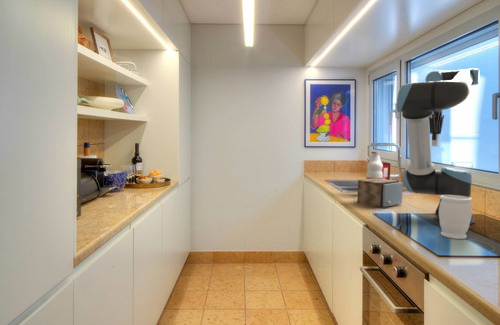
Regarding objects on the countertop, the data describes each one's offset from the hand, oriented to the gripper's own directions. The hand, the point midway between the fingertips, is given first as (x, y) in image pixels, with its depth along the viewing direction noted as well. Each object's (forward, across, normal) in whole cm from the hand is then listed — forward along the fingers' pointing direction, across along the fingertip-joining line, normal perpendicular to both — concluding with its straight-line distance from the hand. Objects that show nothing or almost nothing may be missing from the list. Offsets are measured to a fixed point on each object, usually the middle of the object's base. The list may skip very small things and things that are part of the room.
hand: (434, 146), depth 178 cm
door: (+32, +17, -12) cm, 38 cm away
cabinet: (+32, +18, -21) cm, 42 cm away
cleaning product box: (+33, -22, -46) cm, 61 cm away
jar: (+33, +49, +31) cm, 67 cm away
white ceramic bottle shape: (+33, -2, -36) cm, 49 cm away
